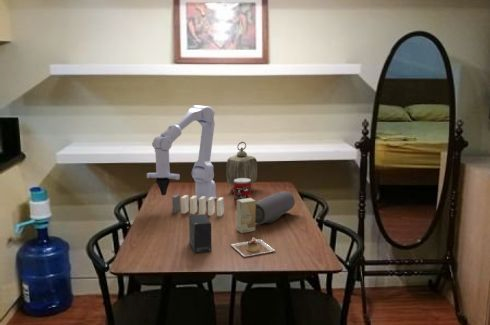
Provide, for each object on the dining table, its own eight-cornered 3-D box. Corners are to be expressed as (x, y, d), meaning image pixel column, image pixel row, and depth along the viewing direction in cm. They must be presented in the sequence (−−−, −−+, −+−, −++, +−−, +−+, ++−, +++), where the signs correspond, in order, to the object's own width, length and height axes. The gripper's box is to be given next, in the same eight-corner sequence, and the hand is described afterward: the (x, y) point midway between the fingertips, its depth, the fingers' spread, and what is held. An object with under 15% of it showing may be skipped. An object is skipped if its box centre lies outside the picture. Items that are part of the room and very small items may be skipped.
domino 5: (208, 215, 203) (207, 199, 202) (211, 212, 207) (211, 196, 206) (211, 215, 203) (211, 199, 201) (214, 212, 207) (214, 196, 206)
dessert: (243, 259, 159) (243, 246, 158) (230, 247, 170) (229, 234, 169) (276, 253, 164) (276, 240, 163) (260, 241, 175) (260, 229, 174)
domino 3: (190, 214, 205) (189, 198, 204) (193, 211, 209) (193, 195, 208) (193, 214, 205) (193, 198, 203) (197, 211, 209) (196, 195, 208)
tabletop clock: (243, 186, 249) (243, 139, 244) (258, 189, 244) (258, 140, 238) (226, 193, 237) (225, 143, 232) (241, 196, 232) (241, 144, 227)
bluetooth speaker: (277, 210, 210) (277, 188, 207) (295, 214, 204) (296, 191, 202) (247, 224, 191) (246, 200, 189) (266, 229, 186) (266, 204, 184)
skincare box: (241, 233, 182) (241, 202, 179) (236, 230, 185) (235, 199, 183) (256, 230, 184) (256, 200, 182) (250, 227, 188) (250, 197, 186)
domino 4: (199, 214, 204) (198, 198, 203) (202, 211, 208) (202, 196, 207) (202, 215, 204) (202, 199, 202) (206, 211, 208) (205, 196, 207)
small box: (213, 251, 165) (212, 222, 162) (194, 254, 163) (193, 224, 161) (206, 240, 175) (205, 213, 172) (188, 242, 173) (187, 215, 171)
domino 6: (217, 216, 202) (216, 200, 201) (220, 212, 206) (219, 197, 205) (220, 216, 202) (220, 200, 200) (223, 213, 206) (223, 197, 205)
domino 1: (172, 212, 207) (172, 197, 206) (176, 209, 211) (176, 194, 210) (176, 213, 207) (175, 197, 205) (180, 210, 211) (179, 194, 209)
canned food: (231, 204, 218) (231, 181, 216) (238, 200, 225) (237, 177, 223) (247, 206, 215) (246, 182, 213) (253, 201, 222) (253, 178, 220)
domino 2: (181, 213, 206) (180, 197, 205) (185, 210, 210) (184, 195, 209) (185, 213, 206) (184, 197, 204) (188, 210, 210) (188, 195, 208)
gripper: (143, 165, 204) (144, 196, 207) (174, 166, 200) (176, 198, 203) (150, 161, 211) (151, 191, 213) (181, 163, 207) (182, 193, 210)
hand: (163, 194), depth 209 cm, fingers closed
